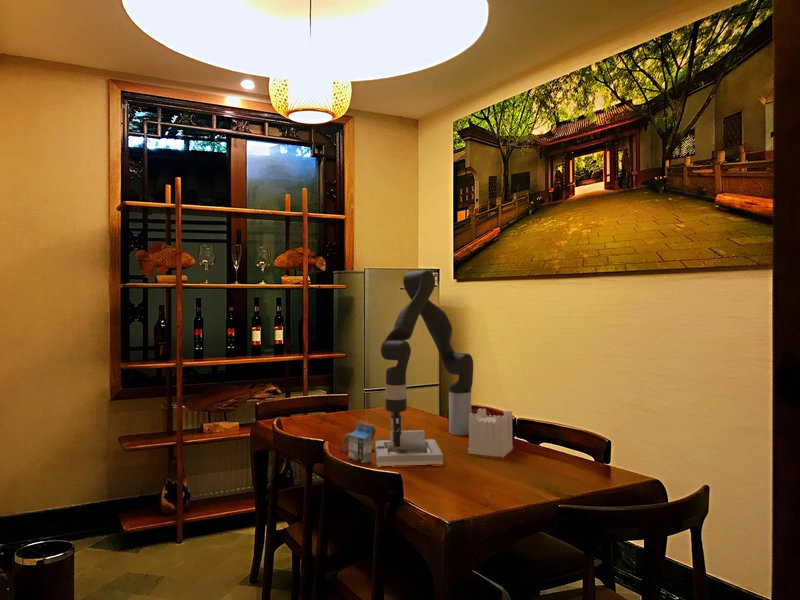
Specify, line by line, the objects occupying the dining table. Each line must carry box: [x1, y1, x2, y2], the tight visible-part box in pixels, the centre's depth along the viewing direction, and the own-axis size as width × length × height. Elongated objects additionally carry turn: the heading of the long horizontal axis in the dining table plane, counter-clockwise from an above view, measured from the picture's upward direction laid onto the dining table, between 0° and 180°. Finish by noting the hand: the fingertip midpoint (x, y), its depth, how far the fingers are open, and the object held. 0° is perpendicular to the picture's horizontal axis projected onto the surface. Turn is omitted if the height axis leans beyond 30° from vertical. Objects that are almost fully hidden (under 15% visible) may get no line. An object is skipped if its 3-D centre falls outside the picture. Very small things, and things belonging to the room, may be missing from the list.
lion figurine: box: [339, 423, 377, 452], centre depth 221 cm, size 15×5×9 cm, turn 121°
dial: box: [387, 429, 427, 454], centre depth 211 cm, size 14×14×8 cm
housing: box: [374, 438, 444, 468], centre depth 211 cm, size 22×22×4 cm
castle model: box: [467, 408, 514, 457], centre depth 218 cm, size 13×15×14 cm
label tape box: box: [348, 421, 373, 464], centre depth 208 cm, size 9×4×12 cm, turn 40°
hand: (396, 443), depth 211 cm, fingers open, 7 cm apart
